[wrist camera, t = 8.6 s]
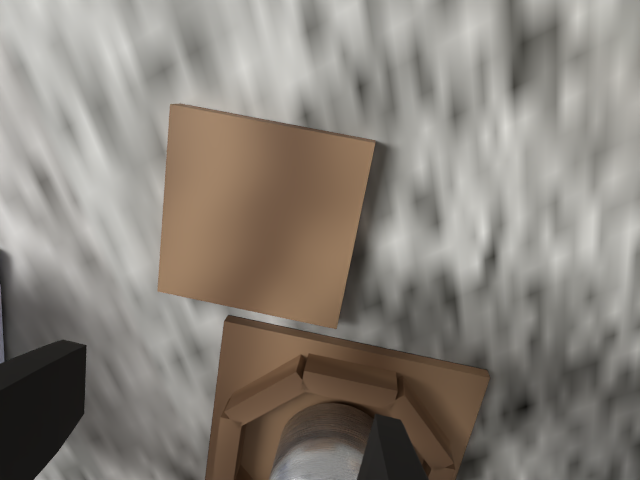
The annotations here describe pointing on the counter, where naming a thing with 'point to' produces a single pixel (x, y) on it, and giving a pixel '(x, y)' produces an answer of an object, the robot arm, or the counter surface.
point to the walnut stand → (260, 213)
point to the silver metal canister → (322, 444)
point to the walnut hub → (333, 396)
